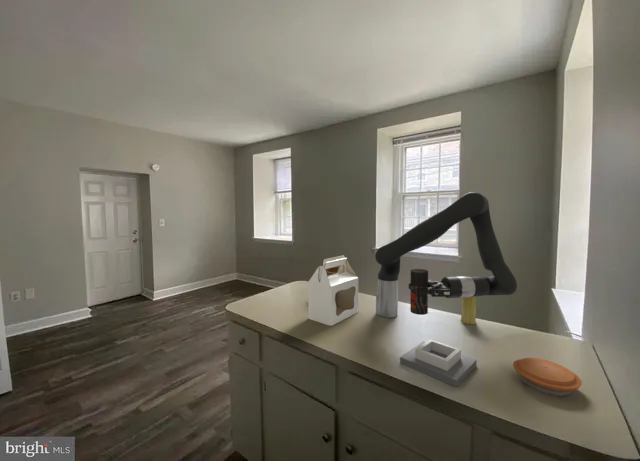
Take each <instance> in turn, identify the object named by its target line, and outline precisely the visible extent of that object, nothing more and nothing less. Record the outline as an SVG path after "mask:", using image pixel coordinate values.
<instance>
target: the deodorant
mask: <svg viewBox="0 0 640 461" xmlns="http://www.w3.org/2000/svg"><path fill="white" fill-rule="evenodd" d="M428 280H429V270H428V269H423V268H414V269H413V268H412V269H410V283H411V290H410V309H409V310H410V313H411V314H413V315H418V316H420V315H421V316H422V315H423V316H424V315H427V314H428V313H429V312H428V311H429V309H428V308H429V295H427V294H425V295H417V294H416V288H428Z"/></svg>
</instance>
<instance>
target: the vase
mask: <svg viewBox="0 0 640 461" xmlns="http://www.w3.org/2000/svg"><path fill="white" fill-rule="evenodd" d="M461 299H462V300H461V314H460V322H461V323H463V324H466V325H475V324H476V323H477V321H476V319H477V308H476V306H477V296H471V297H464V298H461Z"/></svg>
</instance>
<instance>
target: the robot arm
mask: <svg viewBox="0 0 640 461" xmlns="http://www.w3.org/2000/svg"><path fill="white" fill-rule="evenodd" d="M467 219H470V221H471V224H472V226H473V228H474V232H475V236H476V242H477V249H478V253H479V256H480V259H481V262H482V265H483V268H484V269H485V270H487V271H490V272H491V273H492V275H493V276H484V277H483V276H462V275H461V276H460V275H459V276H445V277H442V279H441V281H440V282H439V280H434V281H433V279H428V288H416V294H417V295H425V294H427V295H428V296H430V297H432V298H435V297H436V298H438V297H439V298H441V297H442V298H446V299H457V298H458V299H459V298H460V299H462V298H464V297H471V296H476V297H483V296H511V295H513V294H515V293H516V291H517V288H518V283H517V279H516V277H515V275H514V274H513V273H512V271H511V269H510V268H509V266H508V265H507V264H506V262H505V259H504V256H503V252H502V250H501V248H500V244H499V242H498V239H497V237H496V234H495V230H494V226H493V223H492V218H491V213H490V204H489V200H488V198H487V197H486V196H485V195H483V194H481V193H480V192H477V191H470V192H468V193H467V192H466V193H464V195H462V196H461V197H459V198H458V199H457V200H455V201H454V202H453V203H452V204H450V205H449V206H447V207H446V208H444V209H442V210H441V211H439V212H437V213H435V214H433V215H432V216H430V217H428V218H427V219H425V220H423V221H422V222H419V223H418V224H417V225H415V226H414V227H412V228H411V229H409V230H407V231H406V232H405V233H404V234H402V235H401V236H400V237H398V238H397V239H395V240H393V241H390V242H389V243H387V244H385V245H382V246H380V247H378V249H377V250H376V252H375V261H376V263H377V264H378V265H381V266H380V268H379V269H380V270H379V271H378V273H377V293H376V294H375V314H376V315H378V316H379V317H382V318H387V319H393V318H396V317H398V307H399V306H398V305H399V304H398V303H399V275H400V270H401V257H403V256H404V255H406V254H408V253H410V252H413V251H415V250H418V249H420V248H423V247H425V246H427V245H429V244H430V243H433V242H434V241H436V240H438V239H440V238H441V237H442V236H443V235H444V234H446V233H447V231H449V230H450V229H451V228H452V227H453V226H455V225H456V224H458V223H460V222H463V221H465V220H467ZM408 289H409V290H410V291H411V282H410V283H408Z"/></svg>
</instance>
